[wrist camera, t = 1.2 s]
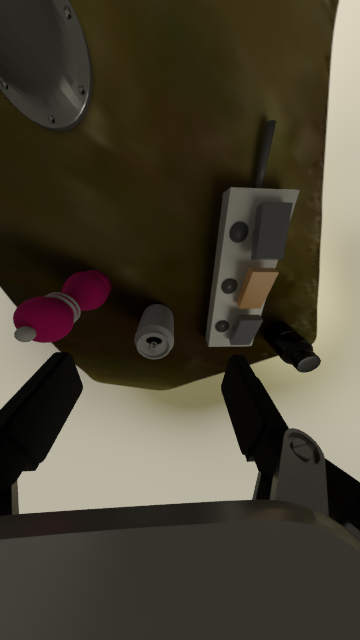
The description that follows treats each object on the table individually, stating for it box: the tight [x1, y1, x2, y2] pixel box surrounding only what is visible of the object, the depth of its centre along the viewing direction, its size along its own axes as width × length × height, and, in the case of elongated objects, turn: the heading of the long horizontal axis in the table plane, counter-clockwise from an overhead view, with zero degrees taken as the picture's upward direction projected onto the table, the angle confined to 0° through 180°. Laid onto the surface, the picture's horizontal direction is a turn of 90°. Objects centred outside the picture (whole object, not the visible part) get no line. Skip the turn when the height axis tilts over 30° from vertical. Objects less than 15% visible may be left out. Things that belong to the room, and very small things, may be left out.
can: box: [134, 304, 174, 359], centre depth 33 cm, size 8×8×12 cm
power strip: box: [206, 120, 299, 347], centre depth 31 cm, size 39×11×5 cm, turn 179°
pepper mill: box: [13, 270, 111, 343], centre depth 25 cm, size 7×7×20 cm
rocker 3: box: [229, 315, 263, 345], centre depth 35 cm, size 8×5×2 cm, turn 179°
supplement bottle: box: [265, 323, 321, 372], centre depth 38 cm, size 7×7×12 cm
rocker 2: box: [237, 267, 279, 309], centre depth 30 cm, size 8×5×2 cm, turn 179°
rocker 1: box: [251, 202, 293, 260], centre depth 25 cm, size 8×5×2 cm, turn 179°
